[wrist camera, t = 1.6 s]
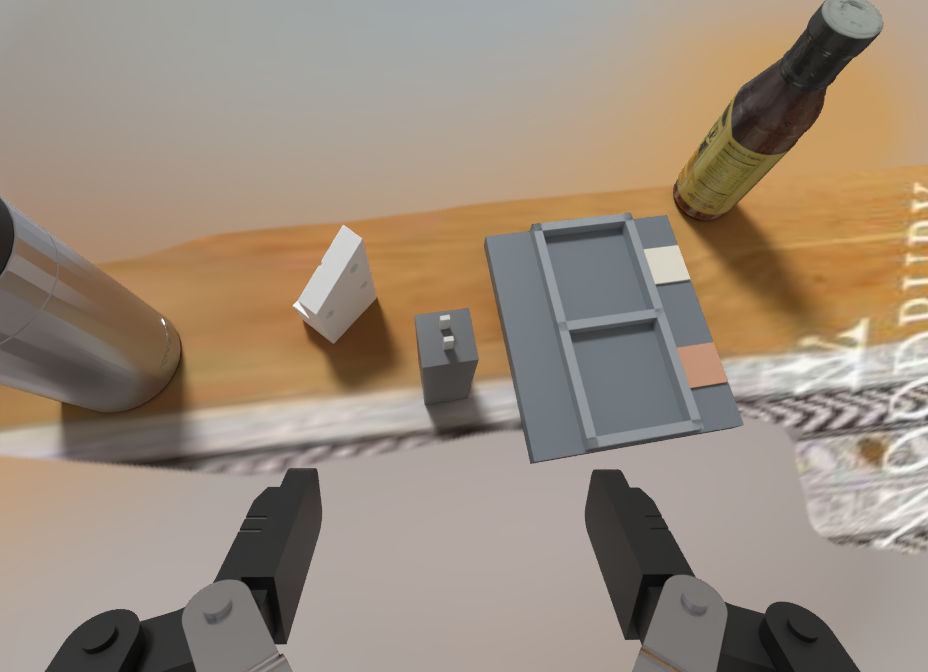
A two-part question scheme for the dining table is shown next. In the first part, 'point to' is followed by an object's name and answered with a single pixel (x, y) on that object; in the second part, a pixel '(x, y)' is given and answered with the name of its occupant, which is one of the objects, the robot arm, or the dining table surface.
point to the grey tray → (605, 336)
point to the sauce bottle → (774, 110)
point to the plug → (446, 354)
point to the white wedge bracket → (338, 287)
